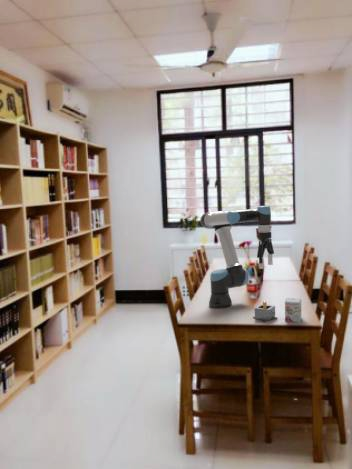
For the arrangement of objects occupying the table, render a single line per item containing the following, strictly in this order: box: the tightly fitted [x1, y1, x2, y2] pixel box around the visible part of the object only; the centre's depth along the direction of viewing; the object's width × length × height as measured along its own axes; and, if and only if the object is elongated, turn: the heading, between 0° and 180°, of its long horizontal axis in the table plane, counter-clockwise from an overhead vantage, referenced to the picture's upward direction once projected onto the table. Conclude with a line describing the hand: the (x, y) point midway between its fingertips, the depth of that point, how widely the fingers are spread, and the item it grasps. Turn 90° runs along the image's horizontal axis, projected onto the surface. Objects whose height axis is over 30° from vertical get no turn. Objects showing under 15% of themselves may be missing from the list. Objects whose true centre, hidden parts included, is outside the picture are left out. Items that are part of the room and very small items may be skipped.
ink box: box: [284, 297, 302, 323], centre depth 251 cm, size 9×9×12 cm
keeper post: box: [252, 301, 278, 323], centre depth 257 cm, size 10×10×10 cm
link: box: [254, 303, 276, 321], centre depth 257 cm, size 9×9×6 cm
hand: (266, 266), depth 265 cm, fingers open, 13 cm apart
